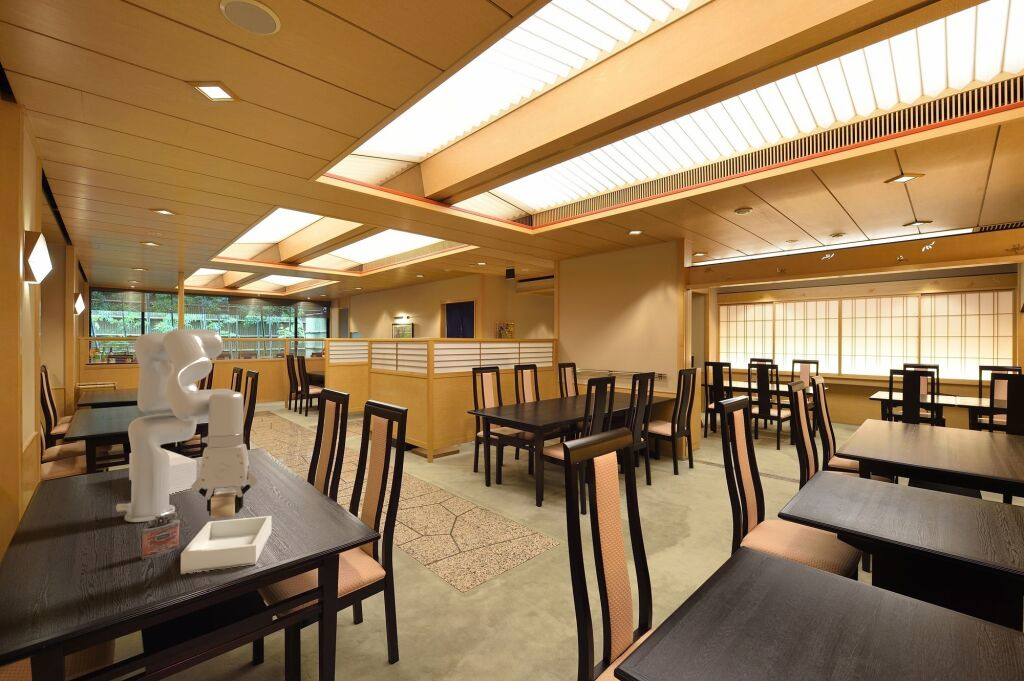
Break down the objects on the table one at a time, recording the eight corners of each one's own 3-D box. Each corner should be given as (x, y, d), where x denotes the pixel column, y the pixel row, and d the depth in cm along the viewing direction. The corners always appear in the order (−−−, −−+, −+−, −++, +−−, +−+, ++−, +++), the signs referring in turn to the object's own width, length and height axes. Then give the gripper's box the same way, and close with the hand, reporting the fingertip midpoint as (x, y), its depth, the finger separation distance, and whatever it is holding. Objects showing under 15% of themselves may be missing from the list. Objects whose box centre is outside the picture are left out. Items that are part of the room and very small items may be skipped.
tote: (180, 574, 110) (180, 553, 110) (208, 539, 129) (208, 521, 129) (255, 565, 114) (255, 545, 114) (271, 532, 133) (271, 515, 133)
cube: (210, 518, 113) (210, 498, 113) (216, 511, 118) (217, 491, 118) (233, 516, 114) (234, 496, 114) (239, 509, 119) (239, 490, 119)
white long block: (129, 480, 180) (129, 453, 180) (161, 474, 189) (161, 448, 189) (162, 496, 163) (162, 466, 163) (196, 489, 172) (196, 460, 172)
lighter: (143, 560, 116) (144, 521, 116) (139, 556, 118) (140, 518, 118) (181, 549, 122) (181, 512, 122) (176, 546, 124) (177, 509, 124)
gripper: (181, 446, 110) (180, 521, 110) (260, 441, 115) (259, 514, 115) (192, 439, 117) (191, 510, 117) (266, 436, 122) (265, 504, 122)
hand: (225, 511), depth 116 cm, fingers closed on cube, 5 cm apart
